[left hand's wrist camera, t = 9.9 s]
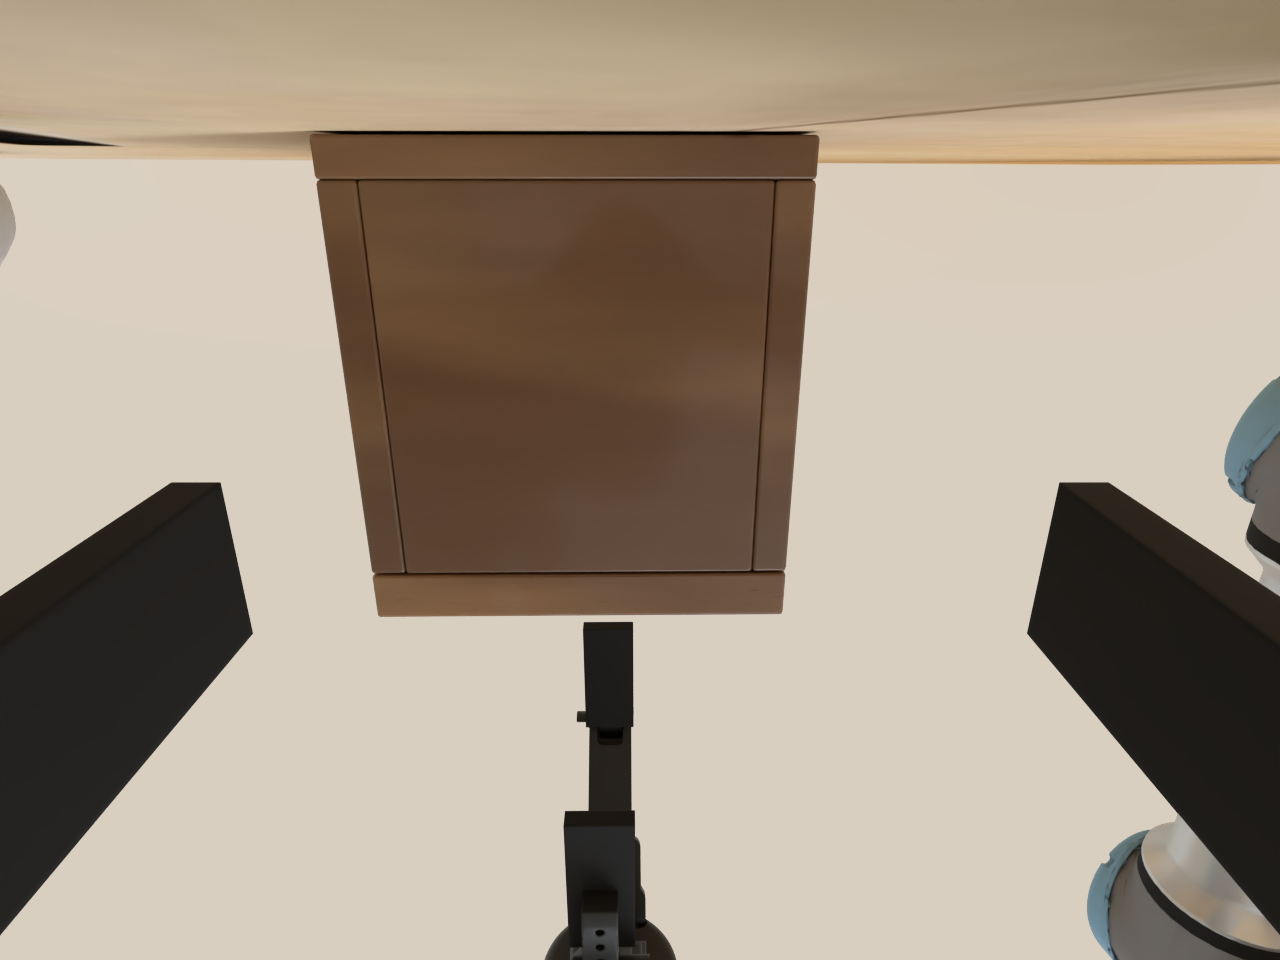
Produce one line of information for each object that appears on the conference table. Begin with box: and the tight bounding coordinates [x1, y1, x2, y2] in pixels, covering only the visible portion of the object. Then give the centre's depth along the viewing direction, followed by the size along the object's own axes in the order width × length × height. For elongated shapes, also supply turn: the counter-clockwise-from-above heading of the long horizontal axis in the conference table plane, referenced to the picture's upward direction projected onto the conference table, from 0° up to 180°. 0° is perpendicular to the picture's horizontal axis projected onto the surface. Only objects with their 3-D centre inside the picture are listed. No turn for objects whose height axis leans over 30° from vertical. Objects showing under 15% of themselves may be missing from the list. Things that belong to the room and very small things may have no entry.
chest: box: [310, 134, 819, 573], centre depth 24 cm, size 16×10×10 cm, turn 179°
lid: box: [373, 568, 785, 617], centre depth 28 cm, size 16×10×8 cm, turn 179°
